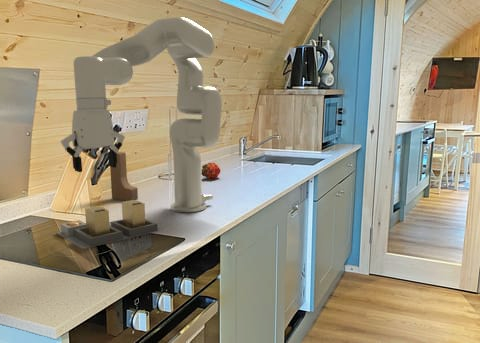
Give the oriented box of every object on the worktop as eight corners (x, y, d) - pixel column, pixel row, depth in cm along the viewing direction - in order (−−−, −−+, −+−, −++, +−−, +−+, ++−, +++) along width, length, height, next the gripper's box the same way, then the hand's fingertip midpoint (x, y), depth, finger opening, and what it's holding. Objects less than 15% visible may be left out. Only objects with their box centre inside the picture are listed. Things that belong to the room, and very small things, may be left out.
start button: (77, 229, 132) (76, 221, 132) (81, 231, 130) (80, 223, 130) (67, 231, 130) (67, 223, 130) (71, 233, 128) (70, 225, 128)
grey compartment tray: (132, 221, 146) (132, 209, 145) (163, 234, 132) (162, 221, 132) (56, 238, 130) (55, 224, 129) (82, 254, 117) (81, 239, 116)
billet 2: (135, 225, 136) (134, 199, 135) (145, 230, 132) (144, 202, 130) (123, 228, 134) (121, 201, 132) (133, 233, 129) (131, 205, 128)
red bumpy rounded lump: (203, 184, 210) (214, 183, 222) (217, 174, 208) (228, 174, 219) (194, 169, 212) (205, 168, 223) (208, 159, 209) (219, 159, 221)
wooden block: (138, 198, 177) (136, 152, 174) (131, 201, 173) (129, 154, 170) (118, 197, 180) (116, 151, 177) (111, 199, 176) (109, 153, 172)
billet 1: (100, 233, 129) (98, 205, 127) (110, 238, 125) (108, 209, 123) (86, 236, 126) (84, 207, 125) (96, 241, 122) (94, 212, 120)
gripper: (115, 103, 128) (118, 163, 132) (53, 105, 117) (58, 171, 120) (128, 104, 123) (131, 166, 126) (64, 106, 112) (69, 175, 115)
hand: (96, 169), depth 123 cm, fingers open, 9 cm apart
